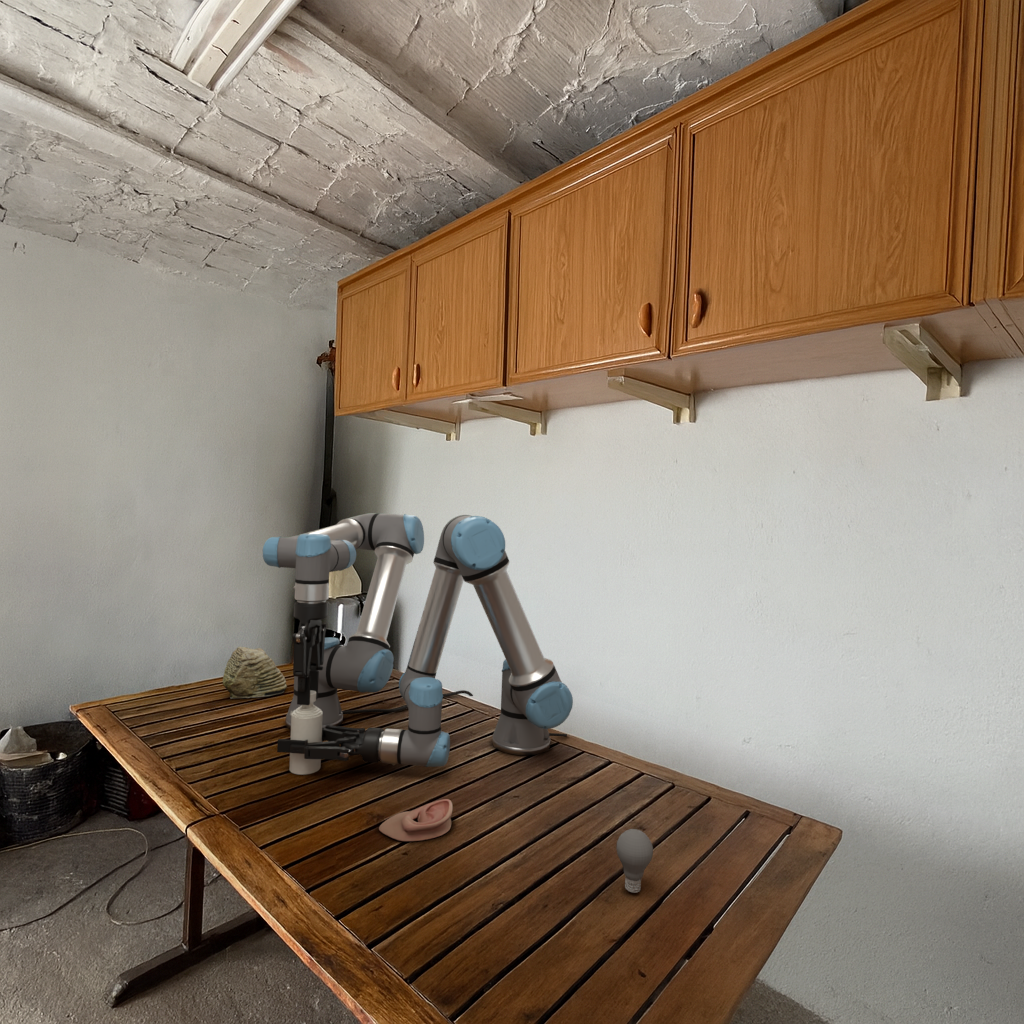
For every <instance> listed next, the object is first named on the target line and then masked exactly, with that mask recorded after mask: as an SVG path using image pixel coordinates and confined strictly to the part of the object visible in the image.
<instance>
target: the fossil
mask: <svg viewBox="0 0 1024 1024" xmlns="http://www.w3.org/2000/svg"><path fill="white" fill-rule="evenodd" d="M222 676H223V677H222V685H223V687H224V688H225V690H226V691H228V693H229V698H230V699H250V698H264V697H271V696H275V695H281V694H284V693H285V691H286V689H287V687H288V686H287V680H286V678H285V676H284V674H283V673H282V672H281V669H279V668H278V667H277V665H276V663H275V662H274V660H273V659H272V658H271V657H270V656H269V655H268V654H267V653H266V652H265V650H264V649H263V648H260V647H258V648H251V647H247V646H246V647H245V646H238V647H237V648H236V649H235V650H233V651H232V653H231V656H230V657H229V659H228V660H227V663H226V666H225V668H224V671H223V675H222Z"/></svg>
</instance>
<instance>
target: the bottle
mask: <svg viewBox="0 0 1024 1024" xmlns="http://www.w3.org/2000/svg"><path fill="white" fill-rule="evenodd" d="M322 717H323V712H322V710H321V709H319V708H318V707H316V706H315V705H313V702H312V703H310V704H309V705H301V706H300V707H298V708H297V709H296V710H294V711H293V713H292V714H291V729H290V739H289V740H303V741H305V740H308V743H313V742H322ZM321 765H322V759H304V754H300V753H289V772H290V773H291V774H294V775H298V776H299V775H301V776H302V775H303V776H305V775H311V774H314V773H317V772H318V771H320V769H321V767H322V766H321Z"/></svg>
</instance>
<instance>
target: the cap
mask: <svg viewBox="0 0 1024 1024" xmlns="http://www.w3.org/2000/svg"><path fill="white" fill-rule="evenodd" d="M315 701H316V691H313V690H310V703H312V702H315Z"/></svg>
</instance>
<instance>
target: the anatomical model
mask: <svg viewBox="0 0 1024 1024" xmlns="http://www.w3.org/2000/svg"><path fill="white" fill-rule="evenodd" d="M453 807H454V806H453V802H452V801H451V800H450V799H449V798H443V799H439V800H434V801H432V802H429V803H426V804H424V805H422V806H419V807H417V808H415V809H412V810H409V811H407V810H406V811H401V812H399V813H396V814H394V815H392V816H390V817H388V818H387V819H386V820H385V821H383V822H382V823H381V824H380V825H379V827H378V830H379V832H380V833H382V834H383V835H385V836H387V837H388V838H391V839H394V840H396V841H399V842H417V841H425V840H431V839H434V838H438V837H440V836H443V835H446V834H447V833H448V832H449V831H450V829H451V828H452V818H451V817H452V814H453Z"/></svg>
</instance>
